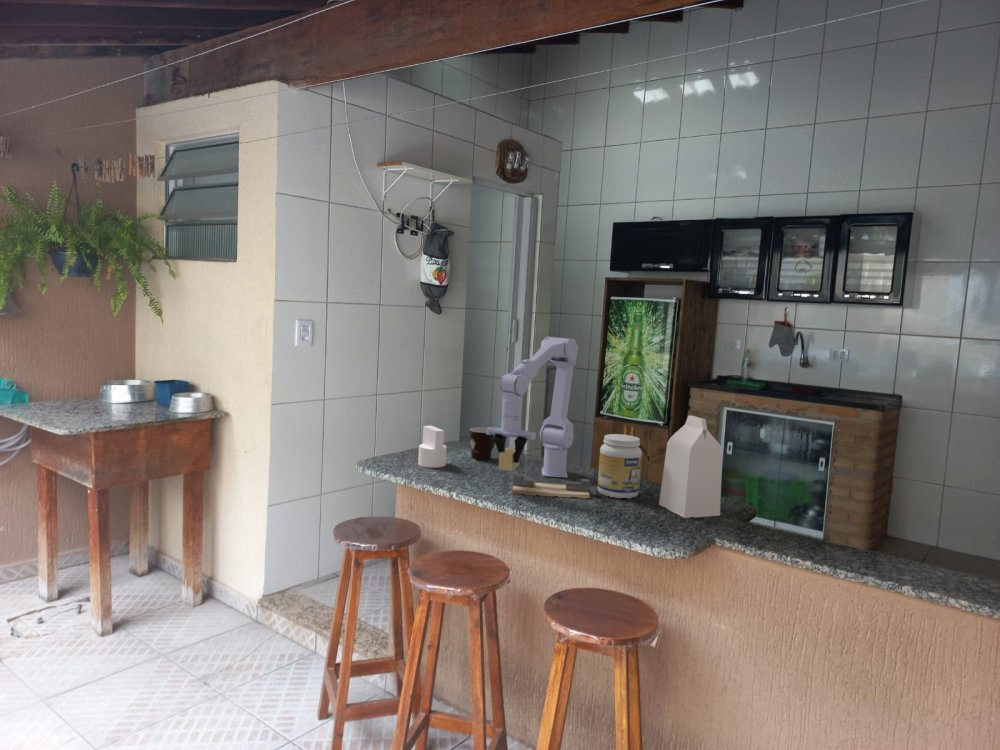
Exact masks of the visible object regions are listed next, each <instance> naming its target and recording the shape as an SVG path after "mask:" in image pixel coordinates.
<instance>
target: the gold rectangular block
mask: <svg viewBox="0 0 1000 750" xmlns="http://www.w3.org/2000/svg"><path fill="white" fill-rule="evenodd" d="M520 459H521V458H520ZM520 459H519V462H518V463H515V447H505V449H504V450H502V451H501V452H499V453H498V470H503V471H509V472H512V471H514V470H515V469H517V468H518V467H519V466H520Z"/></svg>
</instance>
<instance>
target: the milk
mask: <svg viewBox="0 0 1000 750" xmlns="http://www.w3.org/2000/svg"><path fill="white" fill-rule="evenodd" d="M722 462H723V449H722V446H721V444H720V443H719V441H717V440H716V438H715V437H714V436H713V435H712V433H710V431H709V430H708V426H707V422H706V418H702V417H698V416H696V415H687V418H686V420H685V423H684V425H682V427H680V428H679V429H678V430H677V431H675V432H674V434H673V435H672V436H671V437H670V438H669V439H668V440H667V443H666V449H665V458H664V465H663V472H662V478H661V487H660V496H659V501H658V502H659V503H658V505H659V506H660V505H661V507H662V506H663V507H662V508H664V507H665V508H664V509H666V508H667V509H666V510H668V511H670V512H672V513H674V514H675V513H676V514H675V515H677V514H678V515H677V516H679V515H680V517H681V516H682V517H681V518H683V517H684V518H683V519H691V518H690V517H694V518H702V517H705V518H706V517H716V516H718V517H719V516H721V497H722V469H723V468H722V467H723V465H722V464H723V463H722Z"/></svg>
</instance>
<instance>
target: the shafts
mask: <svg viewBox="0 0 1000 750" xmlns="http://www.w3.org/2000/svg"><path fill="white" fill-rule="evenodd" d="M512 476H513V477H512V486H513V485H516V486H524V487H530V488H534V487H535V483H536V481H537V480H536V479H534V478H527V477H525V474H524V473H514V474H513V475H512ZM590 483H591V482H590V478H581V479H580V482H579V481H567V480H566V482H565V484H566V490H575V491H588V492H589V493H590V487H591V485H590Z"/></svg>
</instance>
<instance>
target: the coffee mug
mask: <svg viewBox="0 0 1000 750" xmlns="http://www.w3.org/2000/svg"><path fill="white" fill-rule="evenodd" d="M486 428H487V427H473V428H470V429H469V435H470V439H469V440H470V449H471V459H472V458H473V459H476V460H475V461H478V460H487V461H490V460H491V458H492V457H491V456H492V451H493V450H494V447H495V445H496V444H495V442H494V440H493V438H494V436H495V435H491V434H490V435H487V434H486ZM473 459H472V460H473ZM489 459H490V460H489Z"/></svg>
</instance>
